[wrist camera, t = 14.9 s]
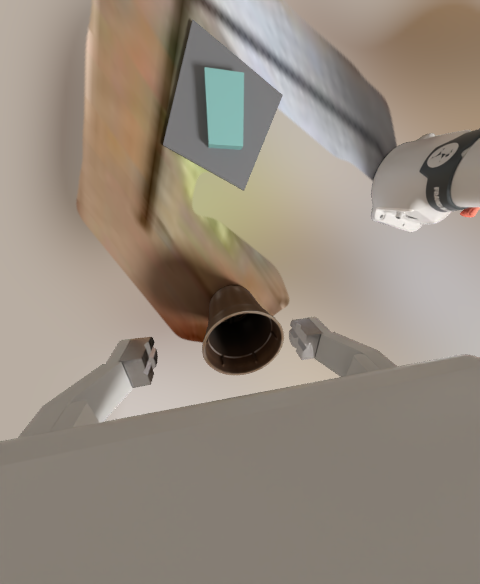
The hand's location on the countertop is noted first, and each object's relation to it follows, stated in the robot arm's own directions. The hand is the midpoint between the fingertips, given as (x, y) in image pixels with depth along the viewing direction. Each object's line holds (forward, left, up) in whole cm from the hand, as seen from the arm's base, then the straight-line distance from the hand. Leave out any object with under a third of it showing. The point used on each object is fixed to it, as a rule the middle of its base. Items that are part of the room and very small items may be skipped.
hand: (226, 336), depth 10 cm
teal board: (+3, -16, -31) cm, 36 cm away
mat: (+5, -20, -33) cm, 39 cm away
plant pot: (-12, +14, -33) cm, 38 cm away
